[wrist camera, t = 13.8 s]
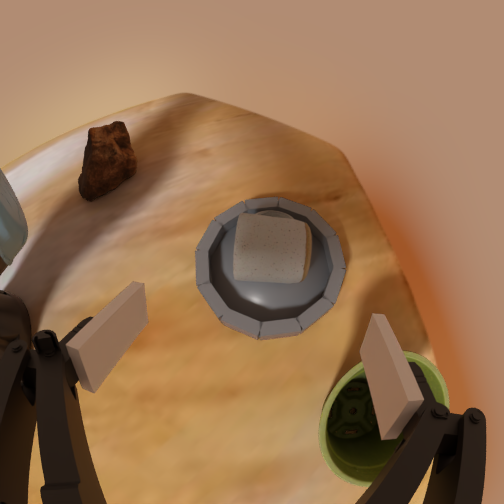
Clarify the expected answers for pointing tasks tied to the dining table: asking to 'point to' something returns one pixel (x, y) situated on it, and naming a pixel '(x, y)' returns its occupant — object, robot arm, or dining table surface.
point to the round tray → (268, 293)
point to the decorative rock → (106, 160)
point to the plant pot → (363, 424)
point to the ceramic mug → (271, 248)
